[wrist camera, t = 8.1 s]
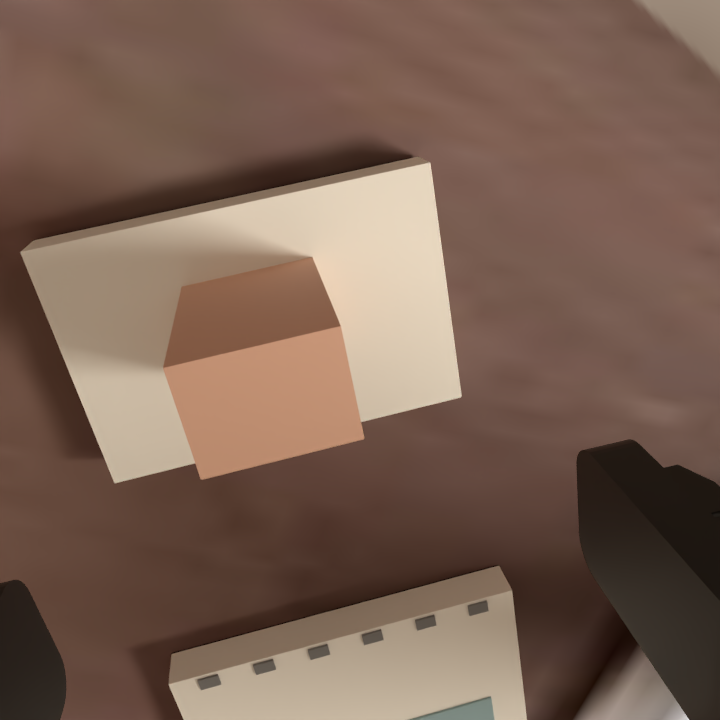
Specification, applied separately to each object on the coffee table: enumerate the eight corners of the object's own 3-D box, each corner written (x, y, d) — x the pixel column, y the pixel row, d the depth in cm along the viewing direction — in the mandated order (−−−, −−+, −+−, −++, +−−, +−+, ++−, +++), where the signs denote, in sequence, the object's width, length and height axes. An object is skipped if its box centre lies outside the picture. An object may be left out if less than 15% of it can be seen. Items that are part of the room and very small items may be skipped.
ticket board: (498, 565, 29) (513, 592, 27) (518, 722, 33) (531, 752, 32) (171, 653, 28) (168, 686, 26) (234, 804, 32) (234, 839, 30)
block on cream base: (418, 156, 21) (503, 198, 15) (450, 379, 25) (530, 497, 18) (33, 240, 20) (-65, 327, 14) (121, 461, 24) (76, 617, 17)
